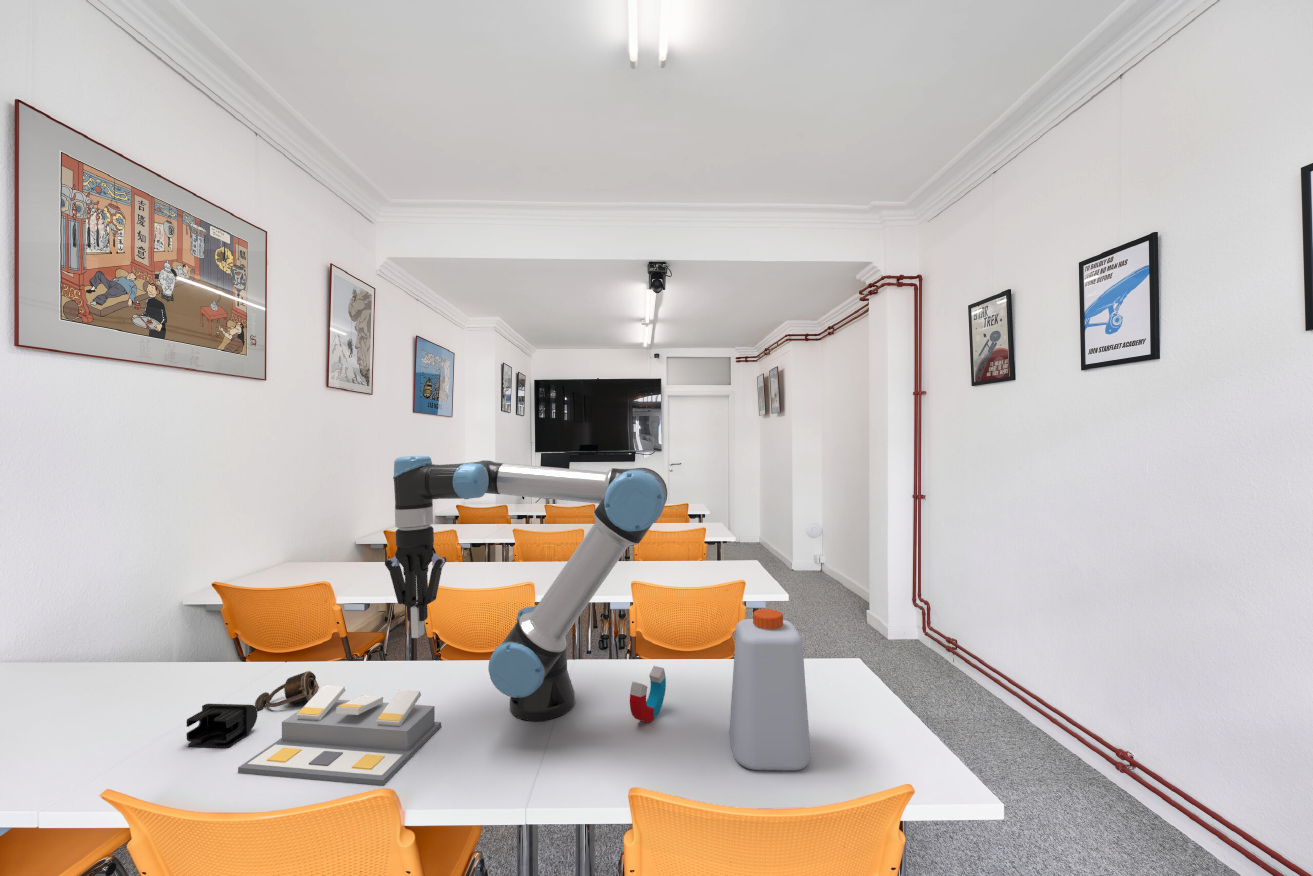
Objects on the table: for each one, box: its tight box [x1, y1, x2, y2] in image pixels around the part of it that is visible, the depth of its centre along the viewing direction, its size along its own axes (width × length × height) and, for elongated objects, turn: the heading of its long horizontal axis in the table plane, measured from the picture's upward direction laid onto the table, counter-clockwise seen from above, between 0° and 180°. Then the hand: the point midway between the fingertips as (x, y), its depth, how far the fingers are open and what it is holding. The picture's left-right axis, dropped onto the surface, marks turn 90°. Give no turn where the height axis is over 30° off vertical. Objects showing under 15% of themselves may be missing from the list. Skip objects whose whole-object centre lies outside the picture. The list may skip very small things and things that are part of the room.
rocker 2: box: [376, 689, 422, 726], centre depth 112 cm, size 5×8×1 cm, turn 173°
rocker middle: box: [336, 695, 384, 715], centre depth 113 cm, size 5×8×1 cm, turn 173°
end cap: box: [186, 703, 258, 749], centre depth 113 cm, size 10×7×7 cm
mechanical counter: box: [254, 670, 320, 711], centre depth 128 cm, size 7×13×10 cm
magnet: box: [629, 665, 667, 723], centre depth 120 cm, size 12×3×10 cm, turn 150°
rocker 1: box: [297, 684, 346, 720], centre depth 114 cm, size 5×8×1 cm, turn 173°
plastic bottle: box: [728, 608, 812, 772], centre depth 108 cm, size 15×15×28 cm
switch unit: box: [237, 699, 442, 786], centre depth 109 cm, size 30×20×5 cm, turn 83°
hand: (418, 635), depth 115 cm, fingers closed
